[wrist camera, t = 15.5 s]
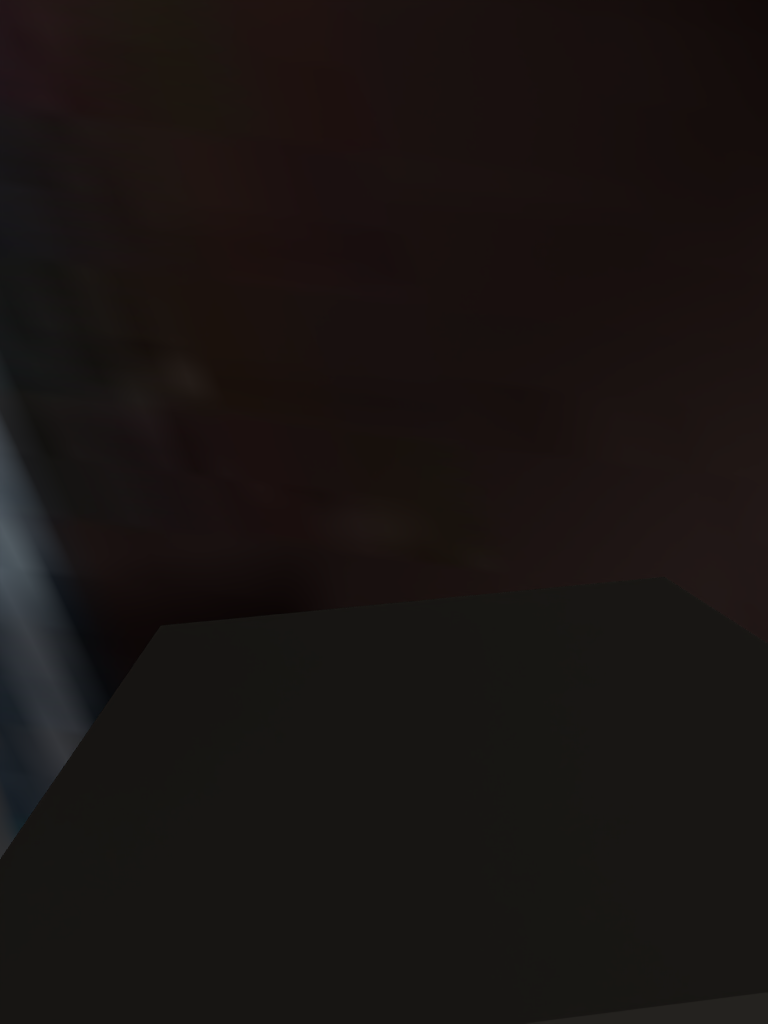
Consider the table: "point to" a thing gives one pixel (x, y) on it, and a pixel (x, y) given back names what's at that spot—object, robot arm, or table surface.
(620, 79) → the table surface
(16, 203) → the table surface
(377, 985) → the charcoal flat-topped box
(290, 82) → the table surface
